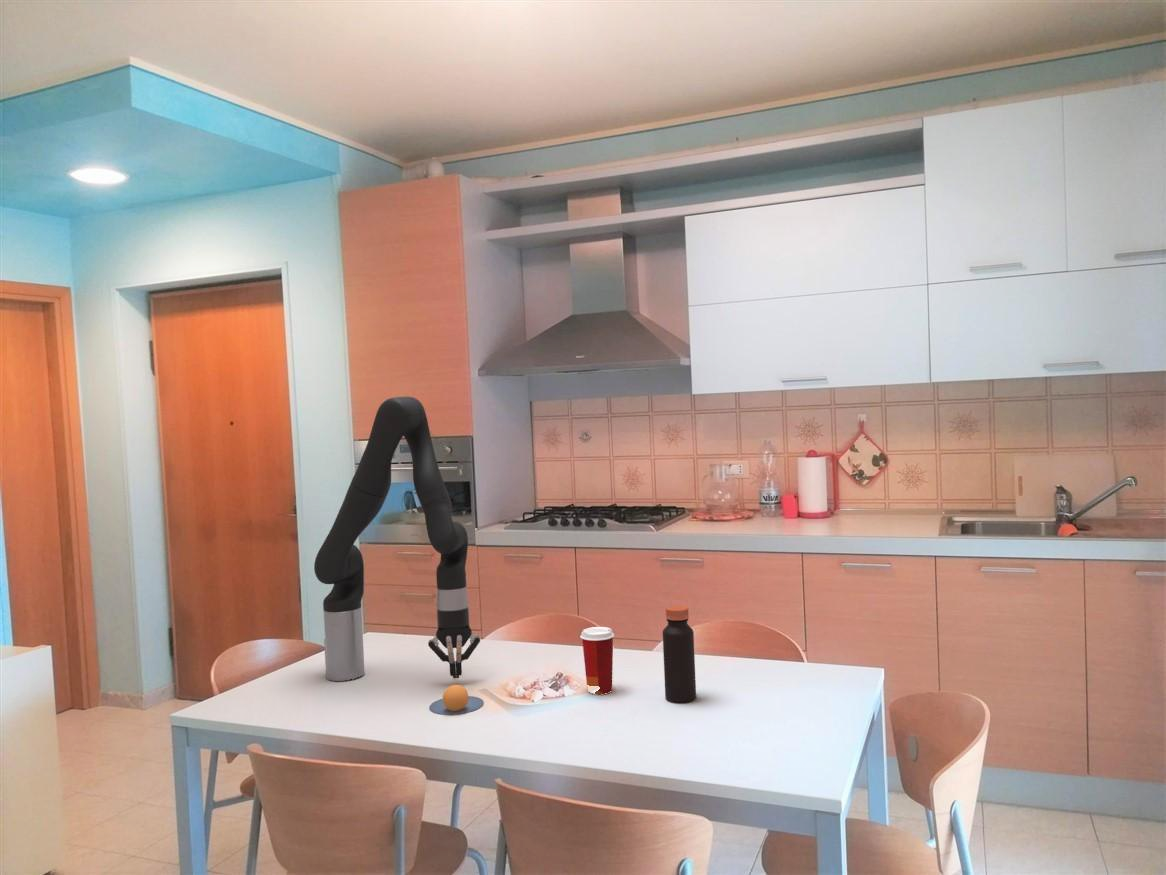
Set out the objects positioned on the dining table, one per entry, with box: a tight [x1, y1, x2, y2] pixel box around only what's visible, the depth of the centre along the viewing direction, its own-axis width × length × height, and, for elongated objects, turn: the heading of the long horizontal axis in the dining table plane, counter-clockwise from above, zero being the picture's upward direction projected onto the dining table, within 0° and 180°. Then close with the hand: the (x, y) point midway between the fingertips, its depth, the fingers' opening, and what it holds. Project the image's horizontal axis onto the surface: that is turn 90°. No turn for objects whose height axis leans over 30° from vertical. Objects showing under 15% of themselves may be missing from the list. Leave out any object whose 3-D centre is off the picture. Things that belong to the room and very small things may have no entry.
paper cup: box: [579, 626, 615, 695], centre depth 197 cm, size 8×8×14 cm
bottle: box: [662, 605, 697, 704], centre depth 189 cm, size 7×7×20 cm
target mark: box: [428, 695, 485, 716], centre depth 191 cm, size 12×12×1 cm
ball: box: [442, 684, 470, 712], centre depth 188 cm, size 6×6×6 cm
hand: (456, 677), depth 207 cm, fingers closed
